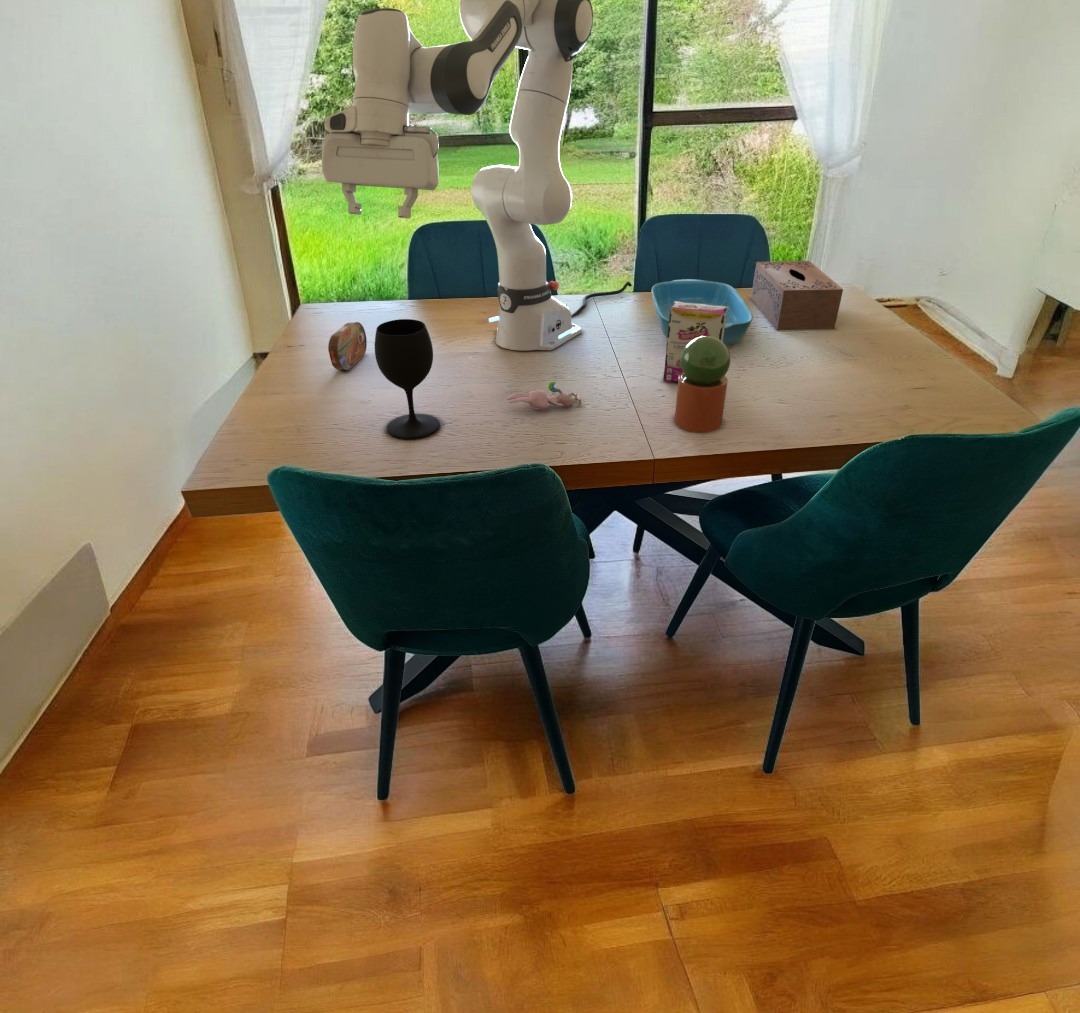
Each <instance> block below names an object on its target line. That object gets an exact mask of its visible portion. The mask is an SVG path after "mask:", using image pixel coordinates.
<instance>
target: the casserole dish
mask: <svg viewBox="0 0 1080 1013" xmlns="http://www.w3.org/2000/svg"><path fill="white" fill-rule="evenodd" d="M651 296H652V301H653V306H654V311H655V313H656V316H657V319H658V322H659V325H660V328H661V330H662V332H663V334H664V336H665V337H666V339H667V338H668V327H669V317H670V308H671V306H673V303H674V301H677V302H687V303H696V304H706V305H716V306H726V307H727V315H726V322H725V329H724V336H723V343H724V344H725V345H726V346H727V347H729V346H733V345H735V344H737V343H739V342H740V341H741V340H742V339H743V338H744V336H745V335H746V334H747V333H746V332H747V330H748V329H749V327H750V325H751V323H752V322H753V319H754V316H753V313H752V312H751V310H750V308H749V306H748V304H747V303H746V302H745V300H744V299H743V298H742V296H741V294H739V292H738V291H737V290H736V288H734V287H733V286H731V285H729V284H727V283H724V282H718V281H710V280H703V279H693V278H691V279H689V278H687V279H686V278H685V279H684V278H683V279H673V280H671V281H662V282H658V283H655V284H654V285H653V286H652V287H651Z"/></svg>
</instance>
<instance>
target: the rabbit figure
mask: <svg viewBox="0 0 1080 1013" xmlns="http://www.w3.org/2000/svg"><path fill="white" fill-rule="evenodd" d="M555 384H557V381H551V382H549V383H548V385H547V388H548V390H549V391H550V392H551V393H550V394H549V395H547V393H546V392H544V391H543V390H540V389H536V390H535V389H534V390H532V391H529V392H522V391H519V392H514V393H512V394H510V395H509V396H508V397H507V398H506V401H509V402H508V404H513V403H520V402H521V403H526V404H528V405H529V406H530V407H531V408H532V409H537V410H541V411H543V410H546V409H547V408H548V407H549V406H548V405H549V404H550V405H552V406H555V407H556V406H559V407H565V408H572V407H573V406H574V405H575V403H576V401H578V407H581V405H582V400H581V399H582V397H580V398H578V393H576V394H575V393H574V392H571V393H567V391H562V390H561V389H560V387H558V386H555ZM556 393H557V395H556V396H554V395H555V394H556ZM573 396H574V397H573ZM572 397H573V398H572Z"/></svg>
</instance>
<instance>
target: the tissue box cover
mask: <svg viewBox="0 0 1080 1013" xmlns="http://www.w3.org/2000/svg"><path fill="white" fill-rule="evenodd" d="M754 268H755V270H754V275H753V282H752V288H751V296H750V299H751V300H752V301H753V303H754V304H755V305H756V307H757V308H758V309H759V310H760V311H761V312H762V314H763V315H764V316H765V317H766V319H767V320H768V321H769V322H770V323H771V325H772V326H773V327H774V329H775V330H776V331H804V330H805V331H806V330H807V331H808V330H811V331H813V330H814V331H815V330H835V328H836V324H837V319H838V314H839V310H840V305H841V301H842V297H843V292H844V288H842V287H841V286H840V285H838V284H837V283H836V282H835V281H834V280H833V279H832V278H830V277H829V276H828V275H827V274H826V273H824V272H823V271H822V270H821V269H820V268H819V267H817V266H816V265H815V264H814V263H813V262H811V261H810V260H788V261H787V260H785V261H784V260H783V261H781V260H780V261H756V262H755V267H754Z"/></svg>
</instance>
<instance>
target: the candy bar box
mask: <svg viewBox="0 0 1080 1013" xmlns="http://www.w3.org/2000/svg"><path fill="white" fill-rule="evenodd" d="M726 315H727V307H726V306H716V305H706V304H696V303H687V302H677V301H674V303H673V306H671V308H670V317H669V327H668V338H667V337H666V339H667V340H666V349H665V350H666V351H665V360H664V369H663V370H664V371H663V382H665V383H666V382H667V383H672V384H678V379H679V375H680V374H681V373H683V372H682V369H681V365H680V359H681V354H682V352H683V350H684V348H685V346H686V345H687V344H688V343H689V342H690V341H692V340H693V339H695V338H697V337H701V336H712V337H715V338H718V339H719V340H721V341H722V342H723V336H724V329H725V322H726Z"/></svg>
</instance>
